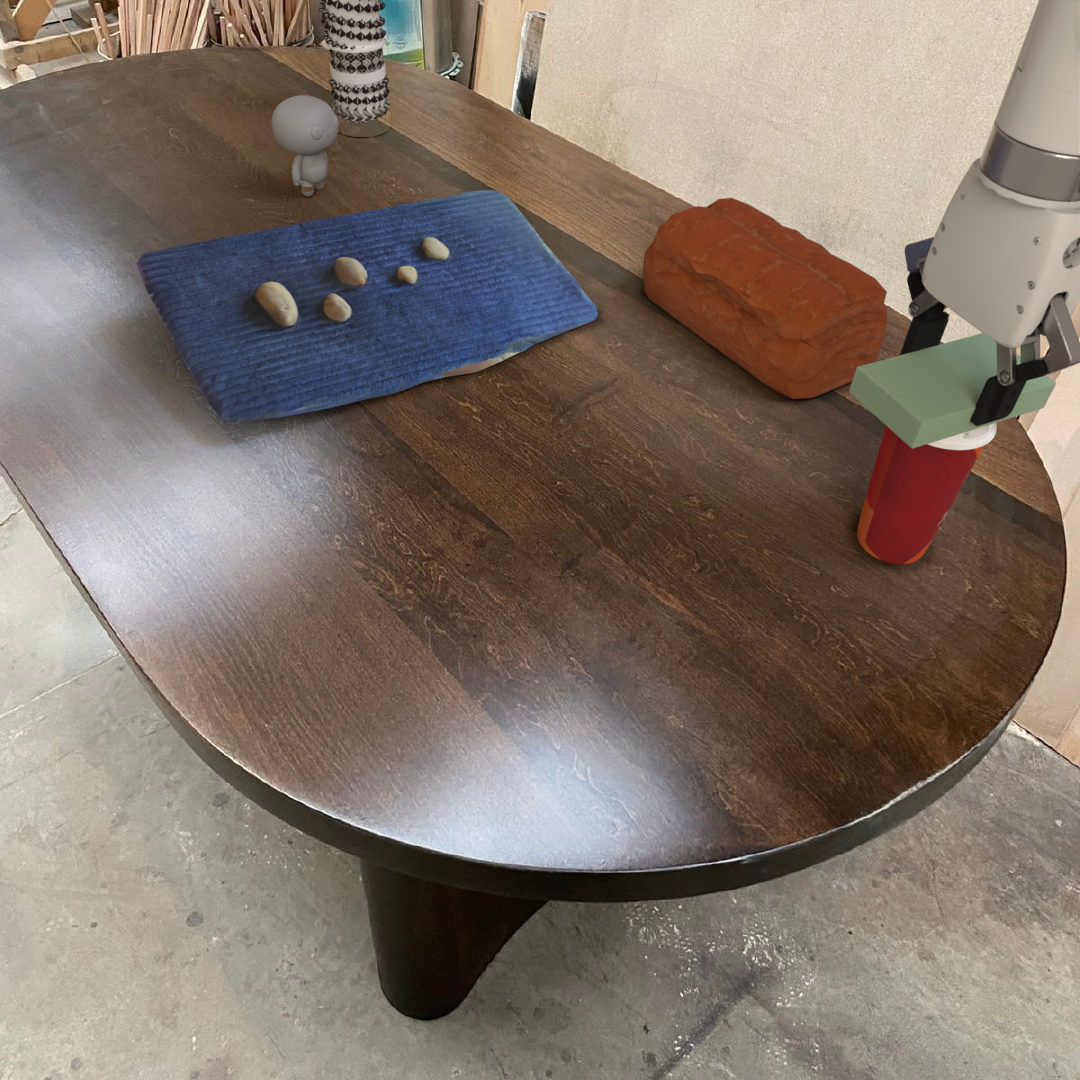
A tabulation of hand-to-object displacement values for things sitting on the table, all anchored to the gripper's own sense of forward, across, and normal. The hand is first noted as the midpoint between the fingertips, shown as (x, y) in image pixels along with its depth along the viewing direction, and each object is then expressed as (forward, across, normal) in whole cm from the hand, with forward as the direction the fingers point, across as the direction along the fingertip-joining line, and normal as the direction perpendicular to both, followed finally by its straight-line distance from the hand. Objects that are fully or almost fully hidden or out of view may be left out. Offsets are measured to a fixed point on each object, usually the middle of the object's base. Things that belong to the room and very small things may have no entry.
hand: (950, 388), depth 73 cm
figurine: (+17, +83, +28) cm, 89 cm away
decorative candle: (+17, +102, +16) cm, 104 cm away
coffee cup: (+16, 0, 0) cm, 16 cm away
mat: (+17, +50, +30) cm, 61 cm away
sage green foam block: (+1, 0, 0) cm, 1 cm away
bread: (+17, +33, -8) cm, 38 cm away
